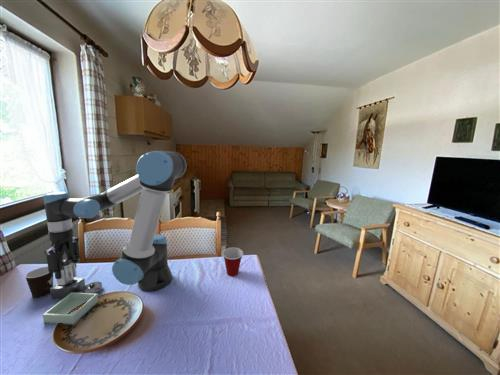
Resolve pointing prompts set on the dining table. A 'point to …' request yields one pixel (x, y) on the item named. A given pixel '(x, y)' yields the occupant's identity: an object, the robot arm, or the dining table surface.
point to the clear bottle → (67, 272)
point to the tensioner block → (67, 289)
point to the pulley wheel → (92, 288)
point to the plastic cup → (232, 260)
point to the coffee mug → (39, 282)
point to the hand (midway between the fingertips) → (67, 280)
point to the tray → (70, 308)
